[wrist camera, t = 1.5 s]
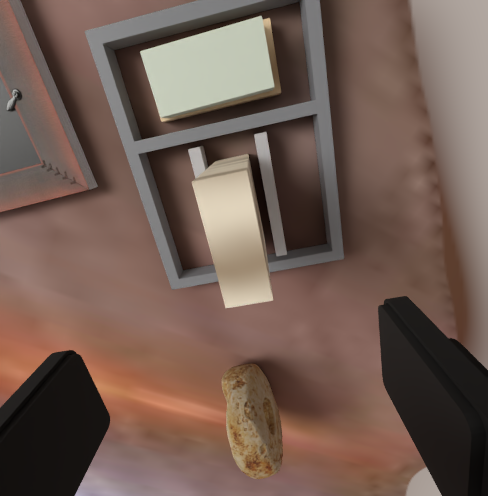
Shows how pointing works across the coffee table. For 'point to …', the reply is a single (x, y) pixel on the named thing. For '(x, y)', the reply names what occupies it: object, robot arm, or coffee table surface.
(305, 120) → the coffee table surface
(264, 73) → the upper offcut
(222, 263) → the birch board
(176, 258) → the rack
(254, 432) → the tan rounded piece
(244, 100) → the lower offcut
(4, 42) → the picture frame
